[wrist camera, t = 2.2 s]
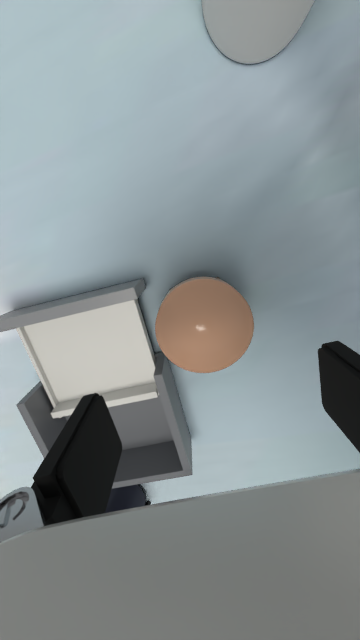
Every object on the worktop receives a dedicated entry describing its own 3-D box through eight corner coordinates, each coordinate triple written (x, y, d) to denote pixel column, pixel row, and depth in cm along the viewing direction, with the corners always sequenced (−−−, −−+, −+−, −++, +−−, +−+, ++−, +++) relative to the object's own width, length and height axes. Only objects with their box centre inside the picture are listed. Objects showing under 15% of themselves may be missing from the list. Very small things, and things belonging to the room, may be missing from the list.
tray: (174, 385, 29) (172, 413, 24) (57, 409, 30) (34, 440, 25) (143, 278, 25) (133, 287, 20) (11, 311, 26) (-26, 326, 22)
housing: (191, 439, 31) (192, 474, 27) (81, 459, 33) (64, 496, 28) (165, 350, 28) (161, 374, 23) (43, 377, 29) (16, 404, 24)
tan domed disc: (239, 266, 20) (244, 269, 18) (253, 351, 22) (260, 362, 20) (147, 288, 21) (143, 294, 19) (170, 369, 23) (169, 381, 21)
